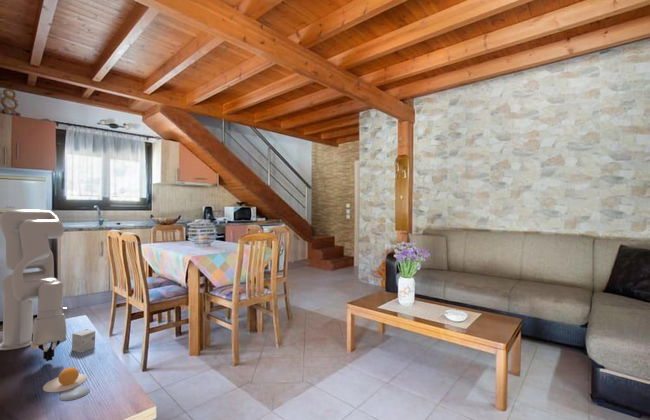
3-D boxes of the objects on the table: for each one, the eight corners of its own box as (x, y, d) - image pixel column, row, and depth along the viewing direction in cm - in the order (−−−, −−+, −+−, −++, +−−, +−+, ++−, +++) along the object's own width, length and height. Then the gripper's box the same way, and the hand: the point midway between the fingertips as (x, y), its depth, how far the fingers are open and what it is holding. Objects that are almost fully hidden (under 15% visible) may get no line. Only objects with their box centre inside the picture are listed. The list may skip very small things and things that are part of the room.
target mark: (38, 383, 112) (38, 383, 112) (80, 370, 121) (80, 370, 121) (48, 396, 105) (48, 395, 105) (91, 381, 114) (91, 381, 114)
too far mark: (56, 394, 106) (56, 393, 106) (85, 384, 112) (85, 383, 112) (63, 403, 101) (63, 403, 101) (93, 392, 107) (93, 392, 107)
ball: (61, 373, 108) (61, 390, 108) (81, 367, 113) (81, 383, 113) (56, 368, 112) (55, 385, 112) (75, 363, 116) (75, 378, 116)
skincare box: (80, 353, 136) (81, 335, 136) (71, 350, 138) (71, 333, 138) (95, 347, 142) (95, 330, 142) (86, 345, 144) (86, 328, 144)
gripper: (70, 307, 135) (69, 350, 135) (22, 315, 123) (20, 363, 123) (76, 310, 130) (74, 356, 130) (26, 320, 118) (25, 369, 118)
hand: (48, 359), depth 126 cm, fingers closed
